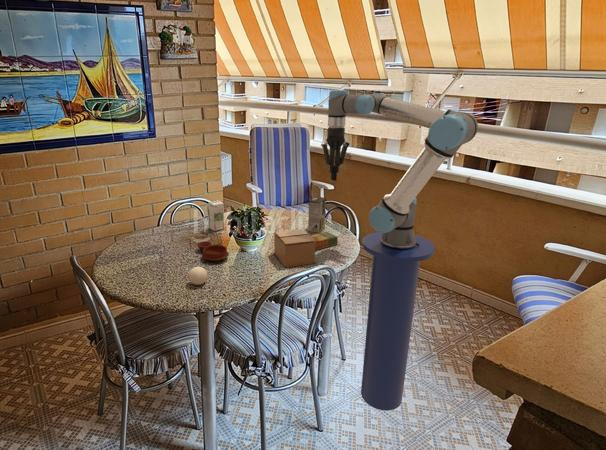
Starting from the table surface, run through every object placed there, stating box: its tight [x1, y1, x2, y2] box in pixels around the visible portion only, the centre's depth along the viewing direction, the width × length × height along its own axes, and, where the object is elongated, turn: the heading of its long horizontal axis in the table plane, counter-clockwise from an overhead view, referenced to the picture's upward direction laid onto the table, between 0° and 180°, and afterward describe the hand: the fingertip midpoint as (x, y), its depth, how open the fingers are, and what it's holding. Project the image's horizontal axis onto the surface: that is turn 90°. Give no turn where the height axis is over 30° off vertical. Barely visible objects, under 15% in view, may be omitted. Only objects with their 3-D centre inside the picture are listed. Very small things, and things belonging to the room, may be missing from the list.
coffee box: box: [307, 195, 327, 234], centre depth 207 cm, size 9×6×16 cm
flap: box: [274, 228, 309, 238], centre depth 176 cm, size 7×13×1 cm, turn 105°
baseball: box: [188, 266, 209, 286], centre depth 155 cm, size 7×7×7 cm
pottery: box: [196, 241, 230, 263], centre depth 180 cm, size 12×20×4 cm, turn 32°
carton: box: [310, 231, 339, 251], centre depth 189 cm, size 8×16×4 cm, turn 121°
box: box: [273, 232, 316, 268], centre depth 175 cm, size 15×13×10 cm
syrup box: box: [207, 200, 225, 232], centre depth 210 cm, size 6×6×14 cm
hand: (333, 179), depth 186 cm, fingers closed
